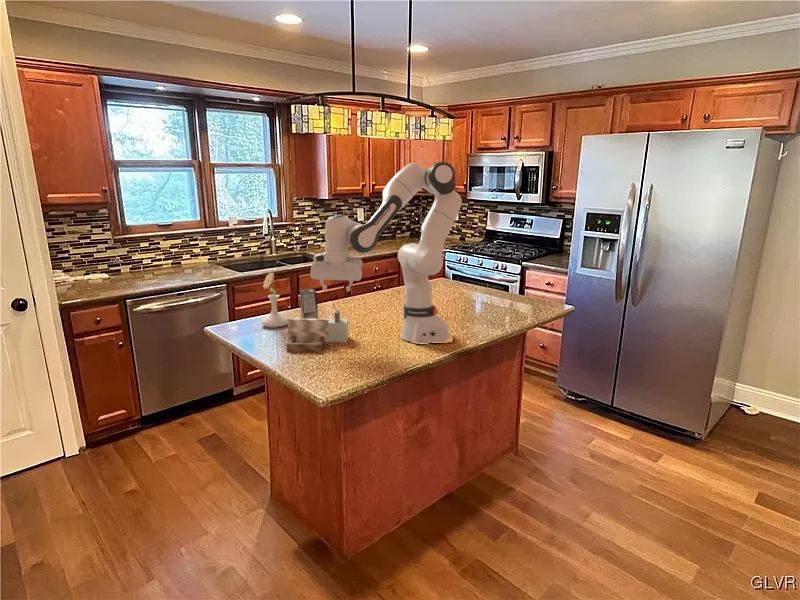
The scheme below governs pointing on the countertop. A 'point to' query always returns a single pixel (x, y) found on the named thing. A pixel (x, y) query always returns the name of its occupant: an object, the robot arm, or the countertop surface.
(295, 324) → the tan lidded box
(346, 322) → the cube with grey handle
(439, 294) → the countertop surface
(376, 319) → the countertop surface
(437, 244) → the robot arm
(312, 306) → the coffee box
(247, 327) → the countertop surface
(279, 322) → the flower in vase
